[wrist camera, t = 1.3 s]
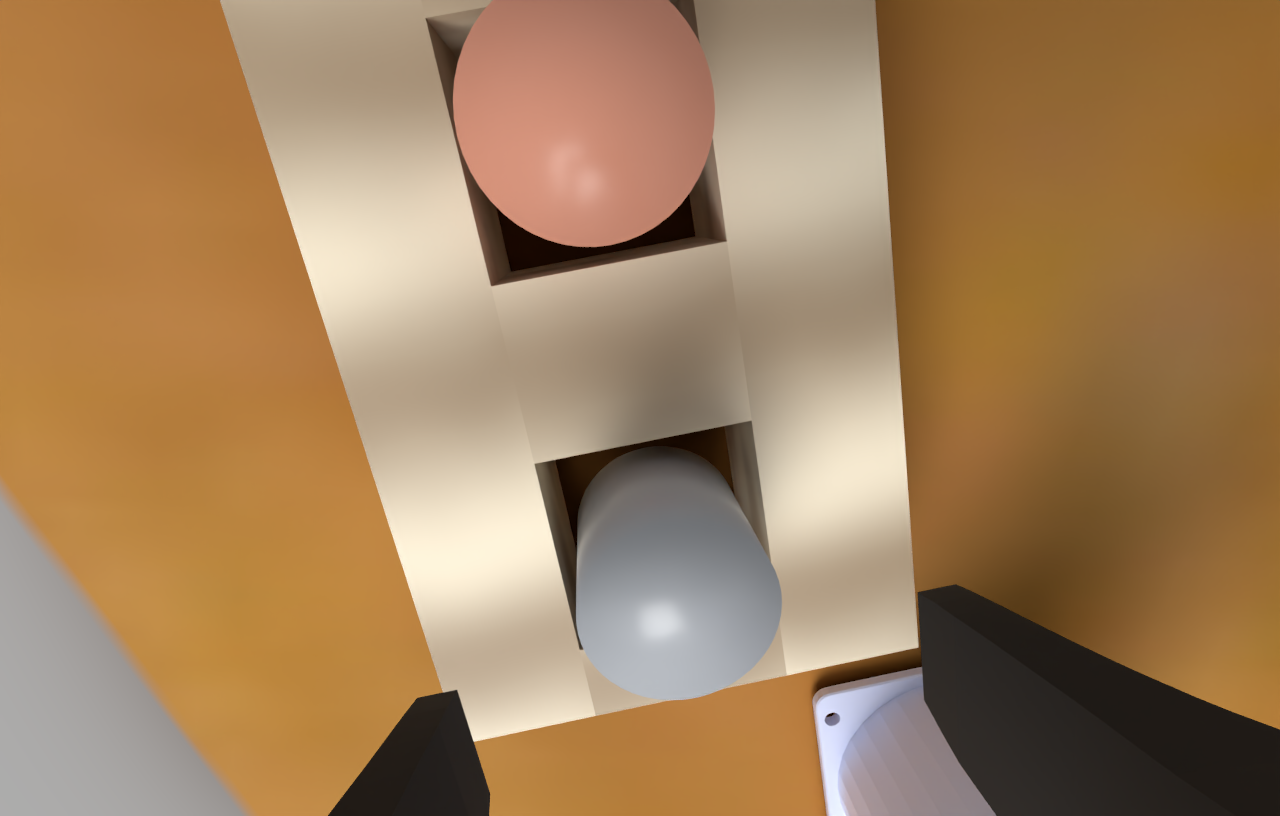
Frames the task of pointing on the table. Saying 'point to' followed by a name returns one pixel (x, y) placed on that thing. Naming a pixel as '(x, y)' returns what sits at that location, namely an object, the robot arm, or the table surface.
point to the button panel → (602, 333)
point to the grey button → (671, 577)
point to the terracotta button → (584, 114)
